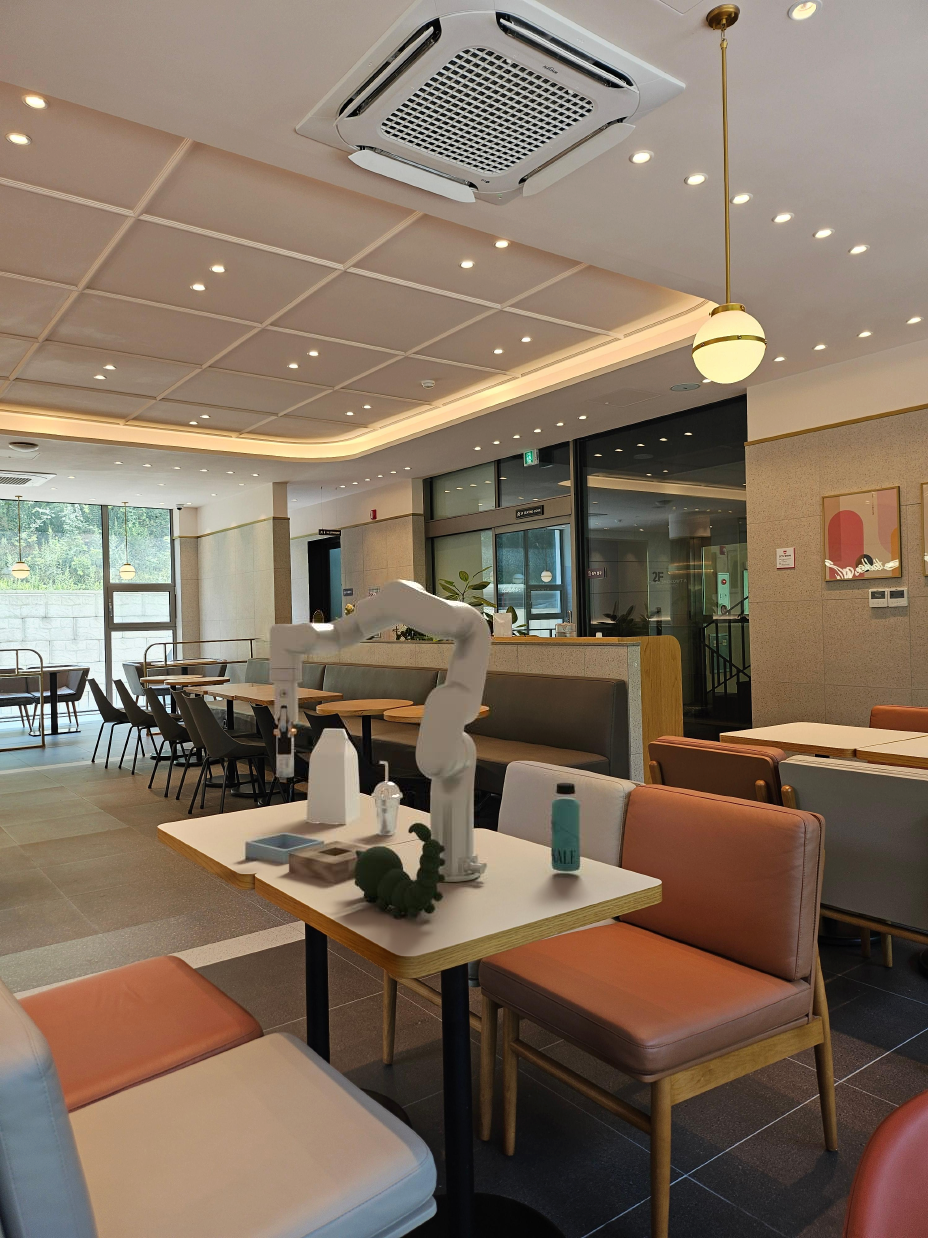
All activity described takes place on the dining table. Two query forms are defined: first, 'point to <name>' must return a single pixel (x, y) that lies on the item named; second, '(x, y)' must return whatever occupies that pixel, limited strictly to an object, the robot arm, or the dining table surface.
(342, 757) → the milk
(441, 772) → the robot arm
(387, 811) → the cup with straw
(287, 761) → the copper capped shaker
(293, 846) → the tray
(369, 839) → the dining table surface
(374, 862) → the toy figurine
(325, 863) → the square wooden block
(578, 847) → the beverage bottle
